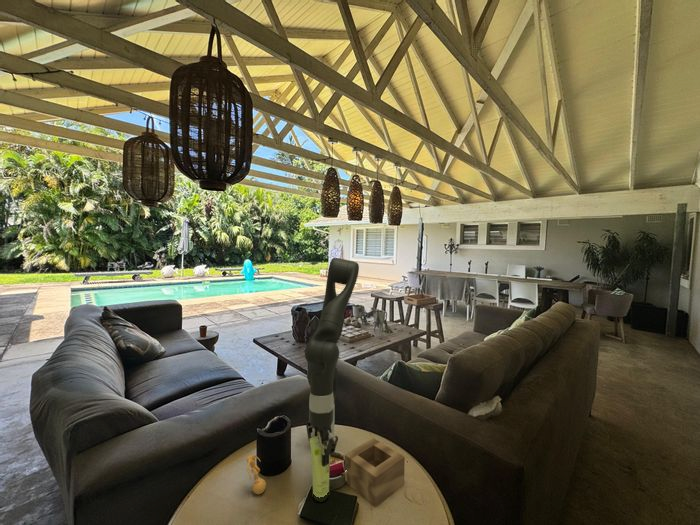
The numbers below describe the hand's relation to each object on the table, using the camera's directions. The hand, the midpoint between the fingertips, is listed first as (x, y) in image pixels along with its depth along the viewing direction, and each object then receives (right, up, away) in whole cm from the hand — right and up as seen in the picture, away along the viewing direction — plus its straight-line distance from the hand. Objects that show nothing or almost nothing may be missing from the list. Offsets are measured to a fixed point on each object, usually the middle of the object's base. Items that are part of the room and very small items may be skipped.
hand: (320, 461), depth 92 cm
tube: (0, -11, 0) cm, 11 cm away
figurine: (-21, -11, +2) cm, 24 cm away
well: (+17, -11, +6) cm, 22 cm away
